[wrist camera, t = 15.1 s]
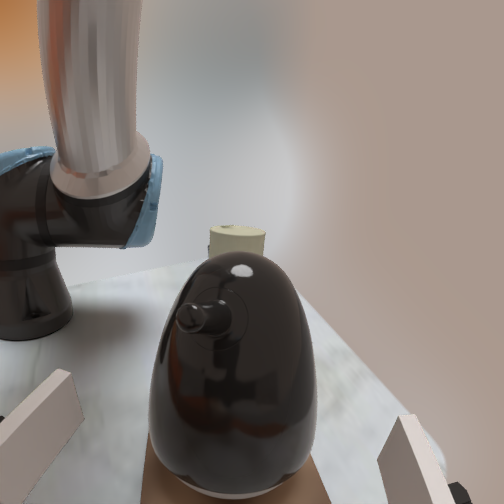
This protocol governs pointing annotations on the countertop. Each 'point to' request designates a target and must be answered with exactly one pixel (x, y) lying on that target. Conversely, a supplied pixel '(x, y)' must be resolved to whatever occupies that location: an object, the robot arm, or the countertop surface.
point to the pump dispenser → (234, 380)
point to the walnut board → (189, 500)
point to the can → (236, 239)
